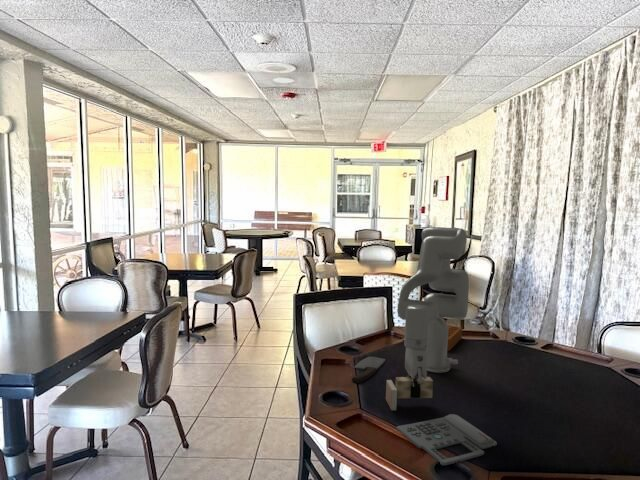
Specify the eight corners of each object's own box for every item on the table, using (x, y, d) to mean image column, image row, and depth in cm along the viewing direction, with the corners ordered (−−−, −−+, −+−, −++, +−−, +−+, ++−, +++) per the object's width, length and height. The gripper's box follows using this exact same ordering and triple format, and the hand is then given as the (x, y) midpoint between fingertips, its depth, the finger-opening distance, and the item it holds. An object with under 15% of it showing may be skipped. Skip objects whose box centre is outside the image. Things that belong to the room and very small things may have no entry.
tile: (390, 399, 145) (391, 379, 144) (396, 410, 137) (397, 389, 136) (385, 399, 145) (386, 379, 144) (391, 410, 137) (391, 389, 136)
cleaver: (365, 385, 156) (365, 380, 156) (340, 380, 160) (340, 374, 160) (387, 361, 183) (387, 356, 183) (365, 357, 188) (365, 352, 188)
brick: (438, 334, 225) (439, 323, 224) (461, 338, 218) (462, 327, 218) (424, 346, 204) (424, 334, 203) (449, 351, 197) (449, 339, 197)
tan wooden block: (428, 393, 143) (429, 376, 143) (432, 397, 140) (433, 380, 140) (394, 394, 142) (395, 377, 142) (397, 398, 139) (398, 381, 139)
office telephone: (456, 410, 135) (506, 442, 116) (456, 418, 135) (506, 451, 116) (396, 422, 125) (440, 459, 107) (395, 430, 125) (439, 468, 107)
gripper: (435, 350, 132) (432, 406, 133) (418, 334, 148) (416, 384, 150) (412, 350, 131) (409, 406, 133) (398, 334, 148) (396, 384, 149)
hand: (413, 394), depth 141 cm, fingers closed on tan wooden block, 3 cm apart
